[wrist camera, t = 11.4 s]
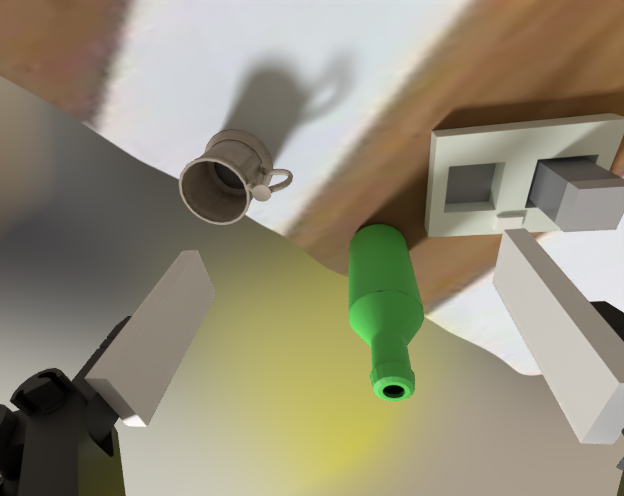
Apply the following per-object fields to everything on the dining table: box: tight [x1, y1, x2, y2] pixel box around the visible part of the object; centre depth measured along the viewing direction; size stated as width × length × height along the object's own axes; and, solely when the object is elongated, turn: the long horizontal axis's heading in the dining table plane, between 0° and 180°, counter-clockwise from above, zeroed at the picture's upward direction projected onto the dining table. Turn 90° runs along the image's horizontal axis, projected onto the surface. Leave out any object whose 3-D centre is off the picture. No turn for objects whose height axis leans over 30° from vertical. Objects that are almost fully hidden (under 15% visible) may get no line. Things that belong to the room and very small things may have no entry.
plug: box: [527, 156, 624, 232], centre depth 37 cm, size 5×5×10 cm
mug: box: [179, 130, 293, 225], centre depth 40 cm, size 14×10×12 cm
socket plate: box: [424, 113, 624, 237], centre depth 41 cm, size 14×20×4 cm
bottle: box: [349, 224, 424, 401], centre depth 40 cm, size 9×9×25 cm
